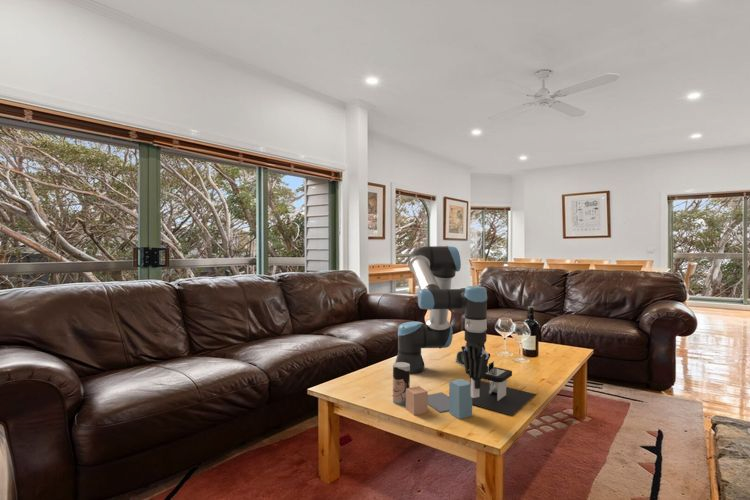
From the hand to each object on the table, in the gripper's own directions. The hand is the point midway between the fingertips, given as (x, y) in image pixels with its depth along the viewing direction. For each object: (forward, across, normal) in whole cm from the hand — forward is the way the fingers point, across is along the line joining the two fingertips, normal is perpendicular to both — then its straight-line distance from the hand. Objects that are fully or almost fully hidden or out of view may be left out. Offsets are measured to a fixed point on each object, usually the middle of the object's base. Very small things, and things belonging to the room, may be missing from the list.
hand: (475, 396), depth 143 cm
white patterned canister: (+10, -28, -14) cm, 33 cm away
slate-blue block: (+10, -8, 0) cm, 13 cm away
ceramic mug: (+10, -58, +41) cm, 71 cm away
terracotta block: (+10, -18, -13) cm, 24 cm away
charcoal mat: (+10, -21, 0) cm, 23 cm away
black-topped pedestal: (+10, -16, +23) cm, 30 cm away
